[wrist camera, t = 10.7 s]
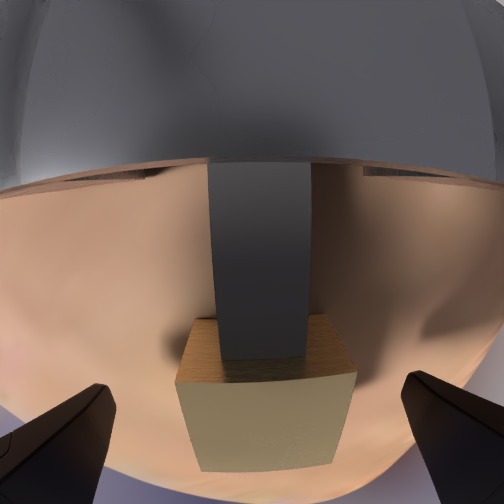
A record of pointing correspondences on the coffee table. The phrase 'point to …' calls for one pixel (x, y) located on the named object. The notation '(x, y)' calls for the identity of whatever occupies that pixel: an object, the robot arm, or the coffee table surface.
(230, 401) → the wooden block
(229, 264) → the stepped grey block
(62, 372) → the coffee table surface
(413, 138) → the curved dark grey plate
